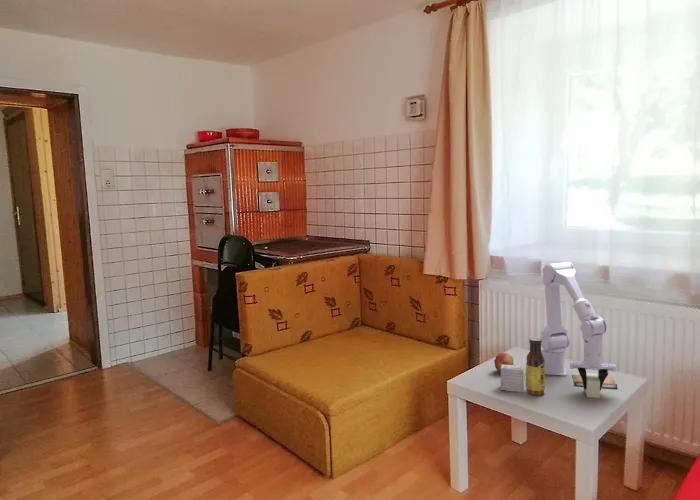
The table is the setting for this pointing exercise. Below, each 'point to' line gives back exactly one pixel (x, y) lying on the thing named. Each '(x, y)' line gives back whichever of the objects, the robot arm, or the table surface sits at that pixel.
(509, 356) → the fruit
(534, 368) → the sauce bottle
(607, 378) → the brown book
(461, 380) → the table surface
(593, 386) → the carton
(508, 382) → the medicine box
